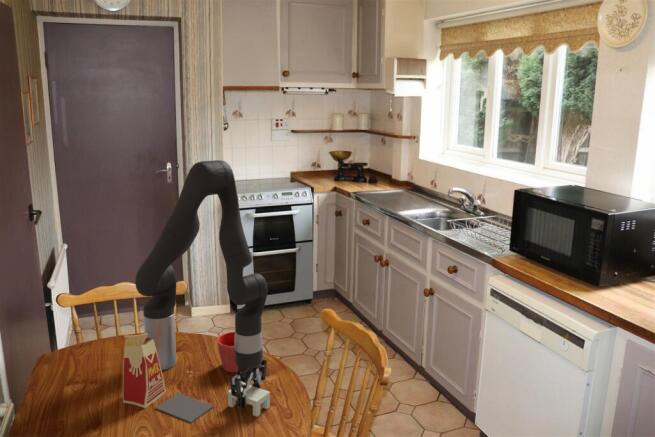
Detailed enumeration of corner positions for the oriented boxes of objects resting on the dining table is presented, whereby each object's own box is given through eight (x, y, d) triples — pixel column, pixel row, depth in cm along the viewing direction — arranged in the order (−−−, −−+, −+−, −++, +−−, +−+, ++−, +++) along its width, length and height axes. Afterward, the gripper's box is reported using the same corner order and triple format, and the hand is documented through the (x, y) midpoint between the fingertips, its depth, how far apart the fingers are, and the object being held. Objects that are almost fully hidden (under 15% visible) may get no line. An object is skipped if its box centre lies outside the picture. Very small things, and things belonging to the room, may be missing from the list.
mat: (155, 408, 158) (155, 407, 158) (178, 394, 165) (178, 392, 165) (191, 423, 152) (191, 421, 151) (213, 407, 159) (213, 405, 159)
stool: (227, 391, 159) (256, 401, 154) (241, 381, 164) (269, 391, 159) (228, 406, 160) (256, 417, 155) (241, 396, 165) (270, 406, 160)
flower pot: (246, 377, 176) (246, 347, 174) (212, 372, 178) (211, 343, 176) (257, 361, 186) (257, 333, 184) (225, 357, 188) (224, 329, 186)
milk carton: (166, 392, 166) (163, 328, 162) (146, 408, 158) (142, 341, 153) (139, 386, 169) (135, 323, 165) (118, 402, 161) (114, 336, 156)
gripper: (243, 360, 148) (243, 418, 152) (275, 339, 160) (275, 394, 164) (220, 353, 151) (221, 410, 155) (253, 333, 164) (254, 387, 168)
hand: (249, 401), depth 160 cm, fingers closed on stool, 6 cm apart
